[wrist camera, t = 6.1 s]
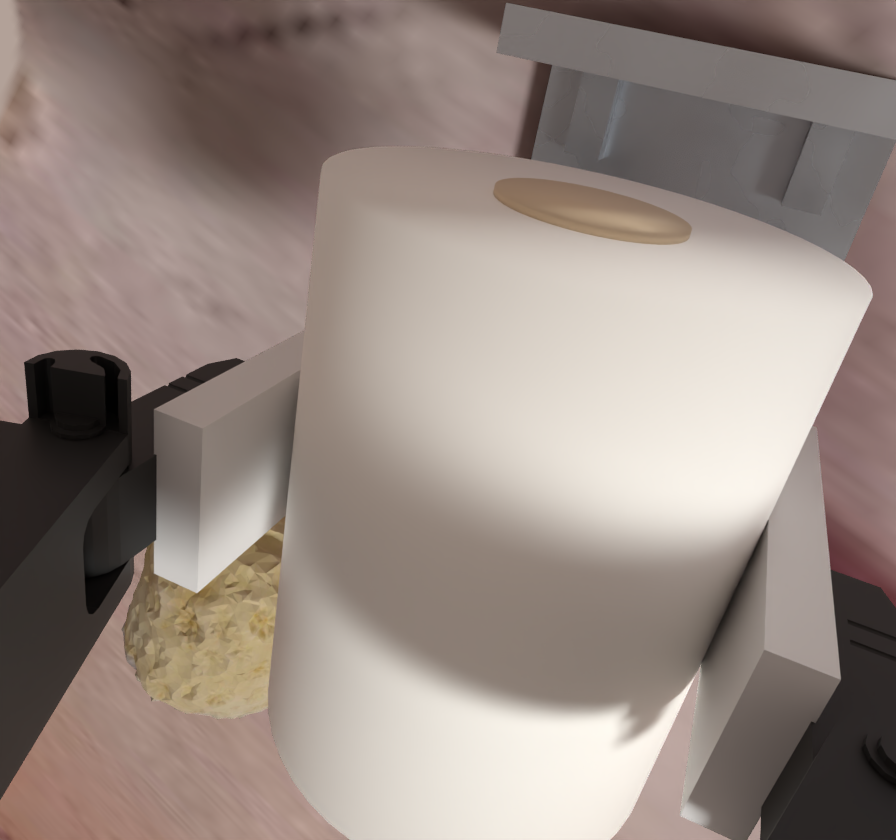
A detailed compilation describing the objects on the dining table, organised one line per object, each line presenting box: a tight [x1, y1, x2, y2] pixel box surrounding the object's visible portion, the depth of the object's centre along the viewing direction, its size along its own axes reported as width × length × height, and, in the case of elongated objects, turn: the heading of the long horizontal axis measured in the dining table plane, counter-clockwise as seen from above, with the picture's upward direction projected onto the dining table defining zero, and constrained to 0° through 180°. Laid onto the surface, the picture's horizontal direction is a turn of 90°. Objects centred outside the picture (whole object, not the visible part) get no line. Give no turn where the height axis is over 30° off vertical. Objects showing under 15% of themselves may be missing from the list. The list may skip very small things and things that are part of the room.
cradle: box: [497, 3, 896, 261], centre depth 25 cm, size 14×11×7 cm
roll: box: [268, 146, 873, 840], centre depth 12 cm, size 9×7×7 cm
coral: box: [121, 516, 286, 719], centre depth 37 cm, size 10×10×10 cm
